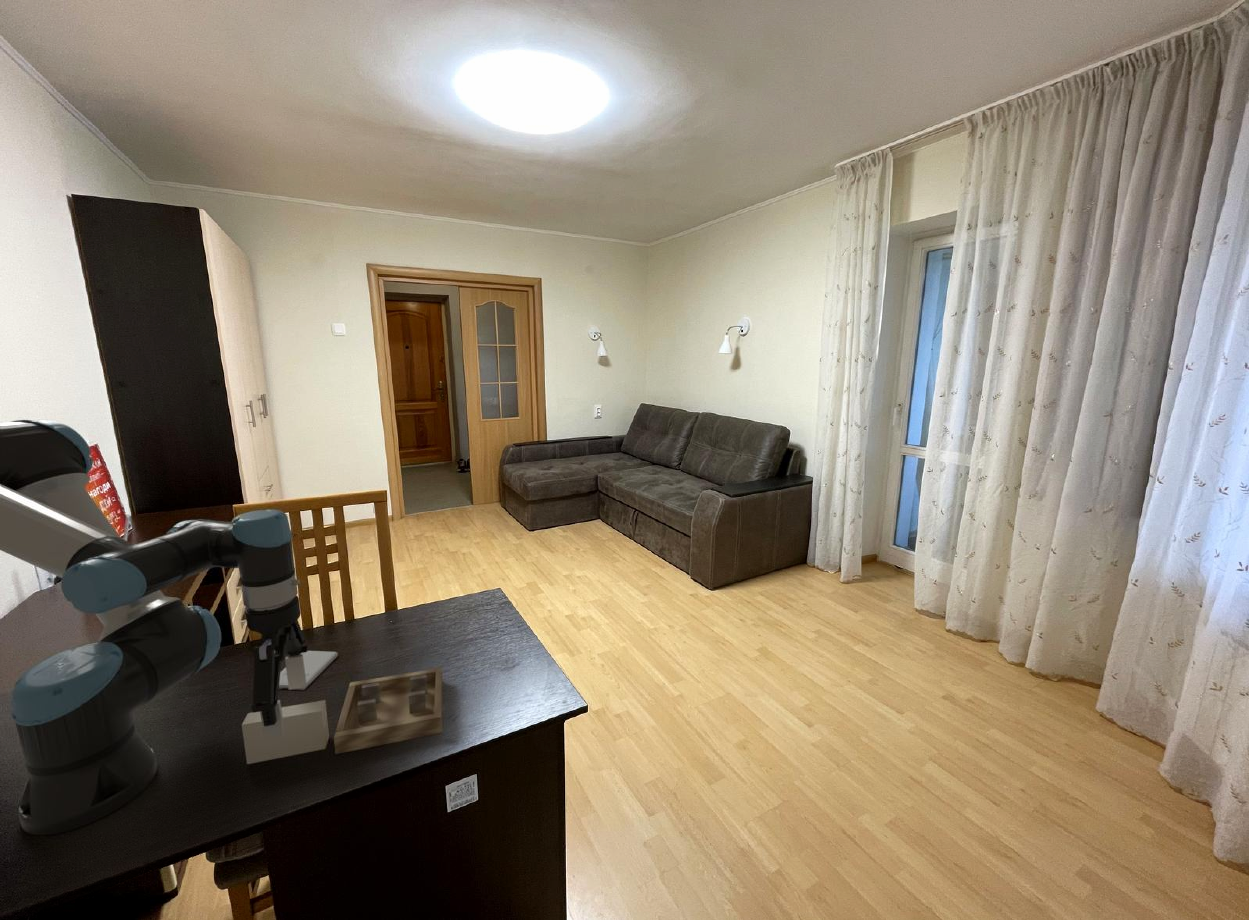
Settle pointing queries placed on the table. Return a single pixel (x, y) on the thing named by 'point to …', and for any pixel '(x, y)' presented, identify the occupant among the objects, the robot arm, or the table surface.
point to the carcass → (390, 710)
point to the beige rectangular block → (287, 733)
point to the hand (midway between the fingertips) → (287, 710)
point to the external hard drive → (310, 666)
